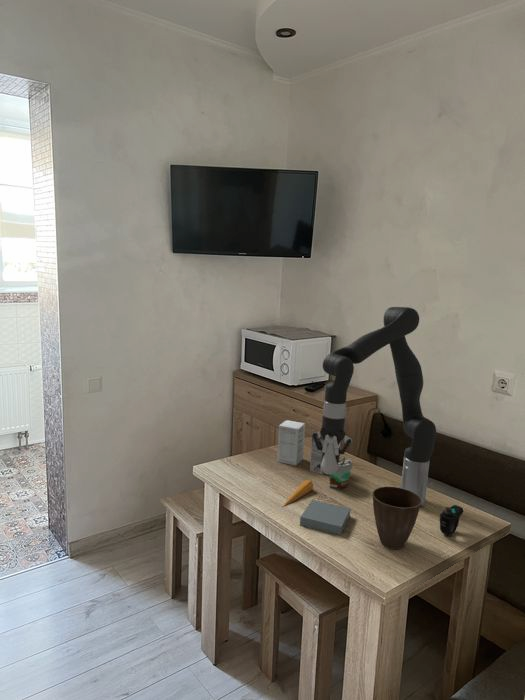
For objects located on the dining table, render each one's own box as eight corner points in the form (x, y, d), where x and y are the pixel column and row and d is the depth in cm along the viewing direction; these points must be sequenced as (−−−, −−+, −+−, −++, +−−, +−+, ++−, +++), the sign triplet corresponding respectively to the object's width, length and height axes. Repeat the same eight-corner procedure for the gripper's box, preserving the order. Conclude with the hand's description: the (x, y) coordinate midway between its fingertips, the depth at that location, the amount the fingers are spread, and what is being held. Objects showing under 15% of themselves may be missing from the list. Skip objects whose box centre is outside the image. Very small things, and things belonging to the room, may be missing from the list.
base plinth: (349, 516, 179) (350, 508, 178) (340, 535, 166) (341, 526, 166) (311, 507, 184) (312, 499, 183) (299, 525, 171) (300, 516, 171)
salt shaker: (327, 476, 168) (329, 439, 166) (317, 470, 173) (320, 433, 171) (341, 474, 171) (344, 437, 169) (331, 467, 176) (334, 431, 174)
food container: (341, 493, 196) (343, 469, 195) (327, 488, 200) (329, 464, 198) (356, 483, 206) (358, 460, 204) (342, 479, 210) (344, 456, 208)
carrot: (307, 489, 200) (303, 478, 200) (316, 488, 198) (312, 477, 197) (279, 513, 184) (275, 501, 184) (289, 512, 182) (285, 500, 182)
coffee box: (319, 464, 224) (322, 429, 221) (332, 468, 220) (335, 432, 217) (309, 470, 216) (311, 434, 214) (322, 474, 213) (325, 438, 210)
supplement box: (303, 459, 229) (306, 423, 226) (296, 466, 220) (299, 428, 217) (283, 454, 232) (286, 419, 229) (276, 461, 224) (278, 424, 221)
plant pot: (358, 538, 165) (362, 492, 162) (389, 526, 173) (394, 482, 171) (394, 561, 153) (399, 512, 150) (425, 547, 162) (431, 500, 159)
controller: (435, 536, 169) (438, 508, 167) (450, 524, 178) (453, 497, 176) (447, 542, 166) (451, 513, 164) (462, 528, 175) (466, 501, 173)
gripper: (357, 414, 169) (353, 463, 172) (316, 408, 174) (313, 455, 177) (352, 420, 163) (348, 471, 166) (310, 414, 168) (307, 463, 171)
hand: (330, 463), depth 172 cm, fingers closed on salt shaker, 3 cm apart
